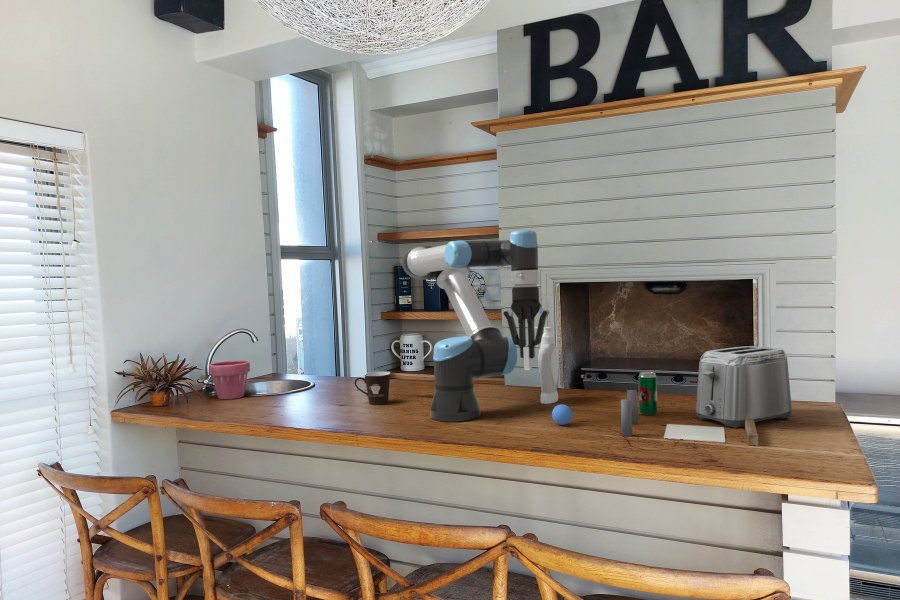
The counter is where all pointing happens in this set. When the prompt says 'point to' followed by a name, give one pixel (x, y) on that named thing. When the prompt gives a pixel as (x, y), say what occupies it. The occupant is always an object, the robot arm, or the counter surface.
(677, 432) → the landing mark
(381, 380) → the coffee mug
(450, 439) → the counter surface
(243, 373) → the plant pot
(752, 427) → the wall
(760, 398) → the toaster
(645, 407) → the soda can
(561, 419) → the ball
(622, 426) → the post
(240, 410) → the counter surface
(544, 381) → the soap bottle
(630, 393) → the post
